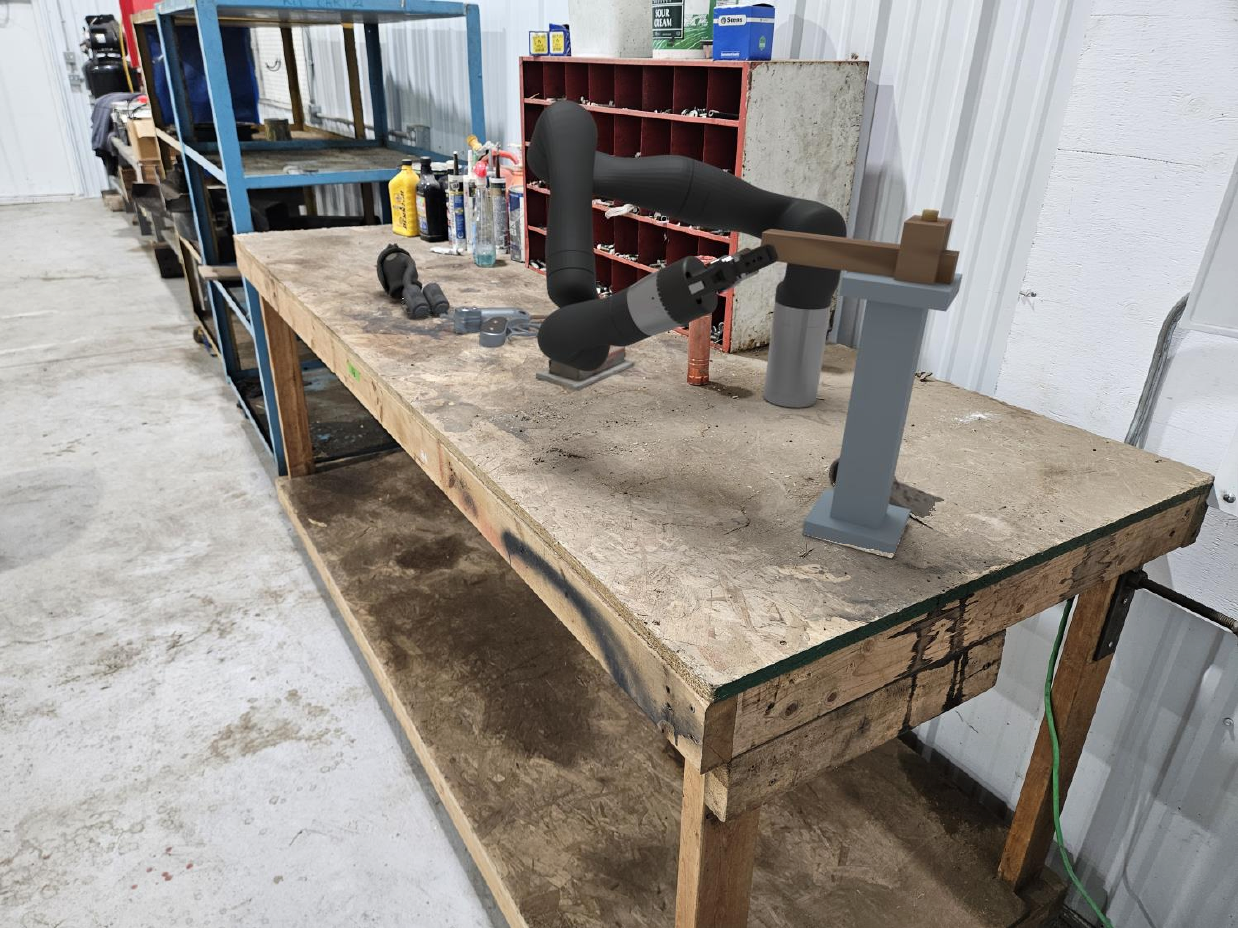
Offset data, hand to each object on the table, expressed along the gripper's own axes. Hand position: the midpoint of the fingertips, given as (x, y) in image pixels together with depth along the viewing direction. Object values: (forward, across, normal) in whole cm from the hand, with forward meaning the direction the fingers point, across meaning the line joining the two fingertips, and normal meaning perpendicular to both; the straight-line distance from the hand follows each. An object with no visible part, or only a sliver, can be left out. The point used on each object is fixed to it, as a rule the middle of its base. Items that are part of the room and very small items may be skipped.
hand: (786, 245), depth 93 cm
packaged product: (-56, +32, +7) cm, 65 cm away
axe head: (-2, +11, +38) cm, 40 cm away
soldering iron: (-78, +45, -6) cm, 90 cm away
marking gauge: (+6, 0, +5) cm, 8 cm away
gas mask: (-106, +50, -22) cm, 119 cm away
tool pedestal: (-5, 0, +36) cm, 36 cm away
